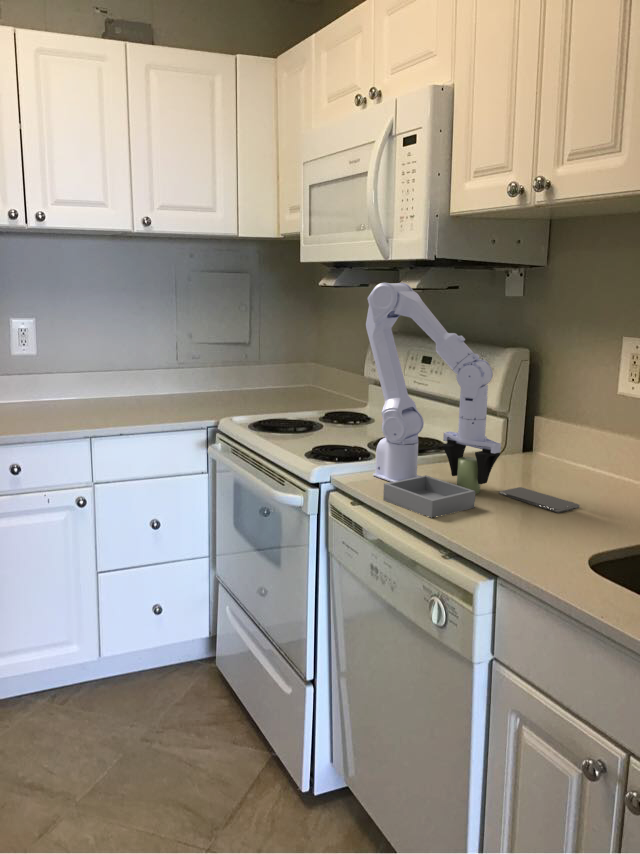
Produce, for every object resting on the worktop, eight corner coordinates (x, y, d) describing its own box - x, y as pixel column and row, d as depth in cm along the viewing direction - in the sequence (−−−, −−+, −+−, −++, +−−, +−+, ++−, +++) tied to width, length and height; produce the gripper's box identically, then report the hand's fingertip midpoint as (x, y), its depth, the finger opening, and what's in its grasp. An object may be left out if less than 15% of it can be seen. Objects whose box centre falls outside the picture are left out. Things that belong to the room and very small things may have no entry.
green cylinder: (451, 489, 160) (453, 458, 158) (467, 486, 163) (469, 455, 161) (468, 495, 156) (470, 463, 154) (484, 491, 159) (486, 460, 157)
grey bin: (383, 500, 152) (383, 483, 151) (425, 490, 159) (425, 475, 158) (431, 518, 141) (432, 500, 140) (474, 507, 148) (475, 491, 147)
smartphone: (520, 486, 162) (581, 504, 148) (520, 491, 162) (581, 509, 149) (497, 491, 158) (557, 510, 144) (496, 496, 158) (557, 515, 145)
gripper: (512, 421, 153) (507, 484, 155) (460, 410, 164) (457, 469, 167) (489, 424, 148) (485, 489, 151) (437, 413, 160) (435, 473, 163)
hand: (469, 479), depth 159 cm, fingers open, 7 cm apart
